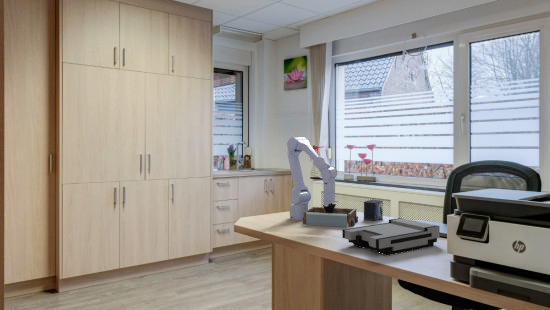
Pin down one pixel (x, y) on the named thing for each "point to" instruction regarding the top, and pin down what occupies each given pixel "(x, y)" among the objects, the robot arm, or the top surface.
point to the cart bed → (350, 213)
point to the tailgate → (326, 219)
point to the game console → (394, 236)
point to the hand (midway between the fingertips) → (329, 218)
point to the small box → (373, 210)
